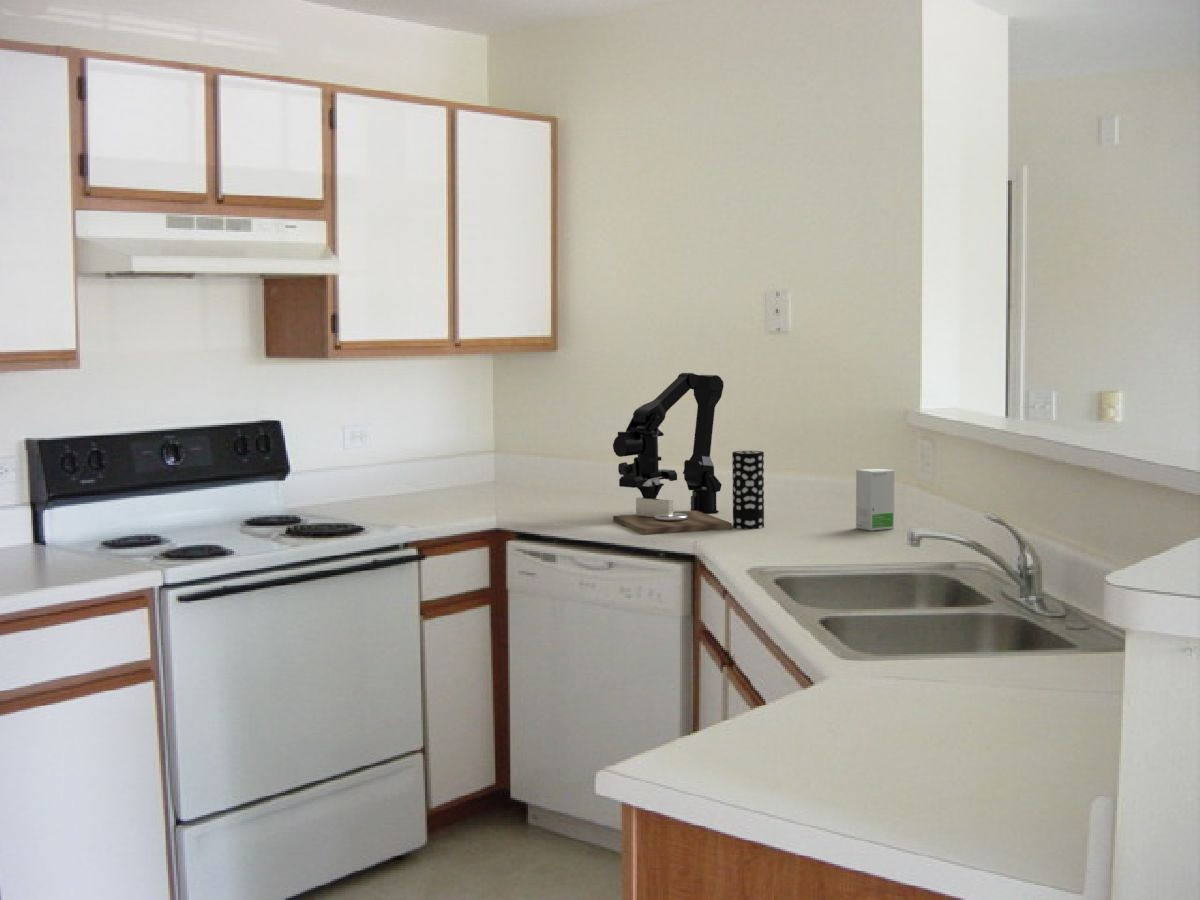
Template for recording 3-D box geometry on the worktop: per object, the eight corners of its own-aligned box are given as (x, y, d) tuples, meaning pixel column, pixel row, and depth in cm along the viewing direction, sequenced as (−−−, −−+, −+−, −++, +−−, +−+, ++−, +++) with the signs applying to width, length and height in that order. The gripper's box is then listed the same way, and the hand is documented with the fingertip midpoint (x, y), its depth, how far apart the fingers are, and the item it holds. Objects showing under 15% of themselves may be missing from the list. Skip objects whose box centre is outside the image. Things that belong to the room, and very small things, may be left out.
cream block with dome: (694, 517, 357) (694, 500, 356) (673, 521, 350) (673, 504, 350) (648, 512, 367) (648, 495, 367) (627, 516, 360) (627, 499, 360)
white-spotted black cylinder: (746, 523, 357) (745, 450, 355) (770, 526, 351) (770, 451, 349) (726, 526, 351) (725, 452, 349) (750, 530, 346) (750, 454, 344)
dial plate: (697, 515, 372) (696, 510, 372) (731, 528, 348) (731, 522, 348) (613, 521, 365) (613, 515, 365) (642, 534, 341) (642, 528, 341)
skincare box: (870, 531, 340) (870, 471, 338) (854, 528, 346) (854, 469, 344) (895, 528, 344) (895, 469, 342) (879, 525, 350) (879, 467, 348)
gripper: (647, 448, 375) (648, 502, 377) (603, 455, 362) (605, 511, 363) (677, 450, 368) (679, 505, 370) (634, 457, 354) (635, 514, 356)
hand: (649, 509), depth 365 cm, fingers closed
